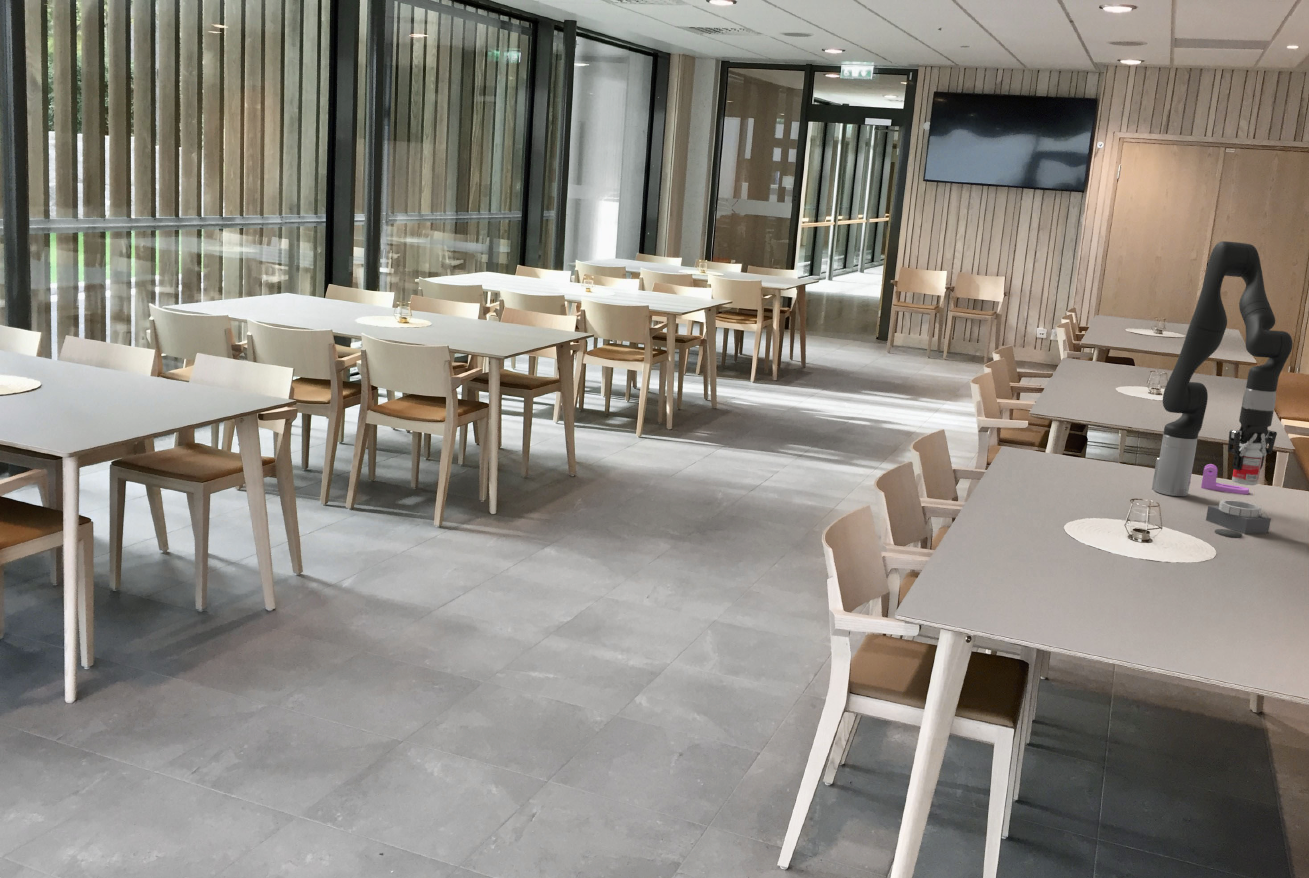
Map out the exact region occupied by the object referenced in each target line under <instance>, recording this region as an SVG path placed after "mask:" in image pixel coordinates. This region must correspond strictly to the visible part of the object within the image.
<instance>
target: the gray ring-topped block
mask: <svg viewBox="0 0 1309 878" xmlns="http://www.w3.org/2000/svg"><path fill="white" fill-rule="evenodd" d="M1267 515H1268V514H1267V513H1262V507H1261V506H1259V505H1258V504H1256V503H1251V502H1248V501H1242V500H1234V499H1221V500H1220V501H1219V505H1217V504H1216V505H1207V511H1206V517H1205V521H1208V522H1210V523H1212V524H1216V525H1217V526H1218V525H1219V526H1222V527H1224V528H1227V529H1228V530H1232V531H1236V532H1239V533H1241V534H1242V535H1248V534H1249V535H1253V534H1254V535H1255V534H1257V535H1258V534H1269V531H1270V525H1271V521H1272V518H1271V517H1268V516H1267Z"/></svg>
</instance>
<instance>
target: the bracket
mask: <svg viewBox="0 0 1309 878" xmlns="http://www.w3.org/2000/svg"><path fill="white" fill-rule="evenodd" d="M1217 478H1218V467H1217V466H1216V465H1215V464H1212V463H1209V464H1206V465H1205V466H1204V467H1203V471H1202V479H1201V485H1200V489H1206V490H1212V491H1218V492H1226V493H1233V494H1238V495H1249V492H1250V488H1247V487H1245V486H1242V485H1241V486H1239V485H1234V484H1227V483H1221V482H1217Z"/></svg>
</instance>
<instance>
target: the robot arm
mask: <svg viewBox="0 0 1309 878" xmlns="http://www.w3.org/2000/svg"><path fill="white" fill-rule="evenodd" d="M1210 253H1211V254H1210V255H1209V258H1208V262H1207V266H1206V271H1205V275H1204V278H1203V283H1202V288H1201V291H1200V295H1199V297H1198V299H1197V304H1196V306H1195V310H1194V312H1193V315H1192V317H1191V320H1190V323H1189V325H1188V329H1187V331H1186V335H1185V338H1184V341H1183V344H1182V346H1181V349H1180V353H1179V356H1178V358H1177V360H1176V363H1175V365H1174V367H1173V369H1172V372H1171V374H1170V376H1169V378H1168V380H1167V383H1166V385H1165V388H1164V391H1163V394H1162V406H1163V409H1164V410H1165V411H1166V412H1169V413H1174V414H1182V415H1181V416H1180V417H1179V418H1178V419H1175V420H1174V421H1171V422H1168V423H1167V424H1165V425H1164V429H1163V435H1162V441H1161V447H1160V453H1159V457H1157V458H1156V460H1155V467H1154V474H1153V478H1152V479H1153V480H1152V485H1151V490H1154V491H1155V492H1156V493H1159V494H1163V495H1166V496H1173V497H1188V496H1189V491H1190V486H1191V485H1190V484H1191V479H1192V474H1193V468H1194V461H1195V456H1196V455H1195V454H1196V451H1197V444H1198V437H1199V434H1200V431H1201V430H1202V427H1203V423H1204V419H1205V414H1206V411H1207V406H1208V400H1209V399H1208V397H1209V396H1208V389H1207V387H1206V385H1204V383H1201V382H1197V381H1195V382H1194V381H1191V379H1192V377H1193V376H1194V373H1195V372H1196V371H1197V369H1198V368H1199V367H1200V366H1201V365H1202V364H1204V362H1205V361H1207V359H1209V358H1210V357H1211V356H1212V355H1213V354H1214V353H1215V352H1216V351H1217V350H1218V348H1219V347H1220V345H1221V343H1222V341H1223V337H1224V335H1225V332H1226V329H1227V327H1228V326H1227V325H1228V316H1227V312H1226V309H1225V307H1224V304H1223V301H1222V296H1221V292H1222V284H1223V280H1224V277H1234V278H1239V277H1240V278H1242V280H1243V281H1244V283H1245V288H1244V291H1243V292H1242V294H1241V296H1240V299H1239V303H1238V306H1239V313H1240V316H1241V317H1242V321H1243V324H1244V325H1245V349H1246V351H1247V352H1248V353H1249V354H1250V355H1251V356H1253V357H1256V358H1265V359H1266V358H1267V360H1266V362H1265V363H1264V364H1260V365H1255V366H1252V367H1250V369H1249V370H1248V374H1247V381H1246V383H1245V384H1246V385H1245V389H1244V394H1243V398H1242V403H1241V408H1240V412H1239V413H1240V414H1239V420H1238V421H1239V423H1240V427H1239V429H1237V430H1233V429H1230V430H1229V432H1228V433H1229V434H1228V447H1227V452H1228V453H1230V454H1233V460H1232V469H1233V470H1234V469H1235V470H1241V469H1242V463H1243V458H1244V457H1243V455H1244V453H1245V452H1246V450H1247V449H1249V448H1250V446H1251V444H1252V443H1262V445H1261V449H1259V450H1260V451H1261V452H1262V454H1263V457H1262V463H1261V468H1260V471H1261V470H1262V469H1263V466H1264V461H1265V456H1267V455H1268V454H1272V453H1273V450H1274V446H1275V442H1276V439H1277V435H1278V432H1277V431H1274V430H1270V429H1269V428H1270V427H1271V426H1272V423H1273V417H1274V412H1275V408H1276V407H1275V405H1276V402H1277V401H1276V399H1277V388H1278V384H1279V378H1280V374H1281V372H1282V370H1283V368H1284V366H1285V364H1286V362H1287V360H1288V358H1289V356H1290V355H1291V352H1292V350H1293V344H1294V343H1293V339H1292V336H1291V335H1290V333H1288V331H1283V330H1272V329H1273V328H1274V326H1275V324H1276V317H1275V313H1274V312H1273V309H1272V307H1271V305H1270V302H1269V299H1268V297H1267V293H1266V290H1265V281H1264V277H1263V270H1262V265H1261V258H1260V255H1259V252H1258V249H1257V248H1256V247H1255V246H1254V245H1253V244H1250V243H1245V242H1236V241H1223V240H1222V241H1219V242H1217V243H1216V244H1215V245H1214V247H1213V249H1212V251H1211V252H1210ZM1242 442H1243V443H1246V444H1242ZM1240 448H1242V449H1241V451H1239V450H1240Z"/></svg>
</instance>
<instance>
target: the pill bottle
mask: <svg viewBox="0 0 1309 878" xmlns="http://www.w3.org/2000/svg"><path fill="white" fill-rule="evenodd" d="M1242 444H1246V443H1243V442H1242ZM1261 445H1262V443H1252V444H1251V446H1250V448H1249V449H1247V450H1246V452H1245V453H1244V455H1243V457H1244V458H1243V463H1242V469H1241V470H1235V469H1233V471H1232V478H1231V480H1232V482H1233V483H1236V484H1239V485H1245V486H1256V485H1258V483H1259V478H1260V474H1261V470H1260V468H1261V463H1262V457H1263V454H1262V452H1261V451H1260V450H1259V449H1261ZM1241 449H1242V448H1240V450H1239V451H1241ZM1261 469H1262V468H1261Z"/></svg>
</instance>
